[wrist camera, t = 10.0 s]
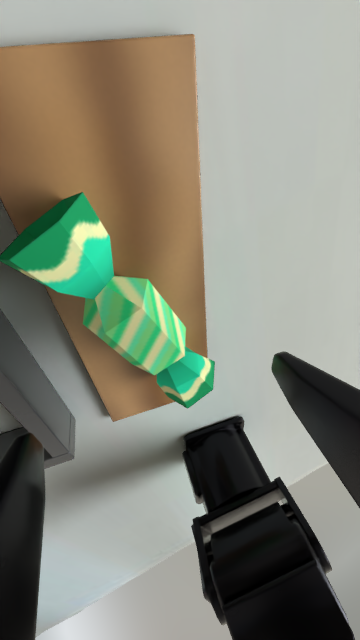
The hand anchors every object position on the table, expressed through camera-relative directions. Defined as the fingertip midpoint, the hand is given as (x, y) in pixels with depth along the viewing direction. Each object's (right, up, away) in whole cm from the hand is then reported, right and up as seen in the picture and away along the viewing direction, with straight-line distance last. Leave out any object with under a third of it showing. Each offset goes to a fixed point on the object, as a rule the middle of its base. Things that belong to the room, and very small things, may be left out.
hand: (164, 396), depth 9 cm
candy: (-2, +4, +5) cm, 7 cm away
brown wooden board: (-2, +4, +5) cm, 7 cm away
